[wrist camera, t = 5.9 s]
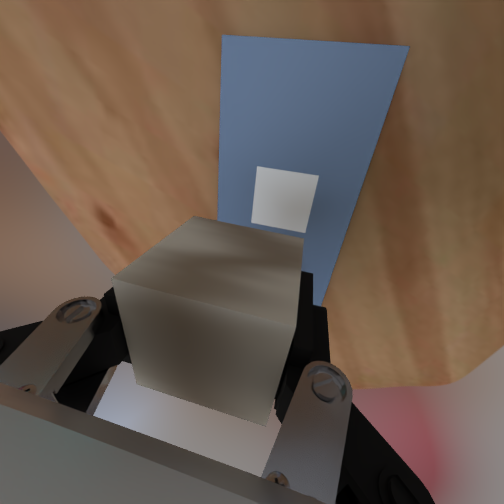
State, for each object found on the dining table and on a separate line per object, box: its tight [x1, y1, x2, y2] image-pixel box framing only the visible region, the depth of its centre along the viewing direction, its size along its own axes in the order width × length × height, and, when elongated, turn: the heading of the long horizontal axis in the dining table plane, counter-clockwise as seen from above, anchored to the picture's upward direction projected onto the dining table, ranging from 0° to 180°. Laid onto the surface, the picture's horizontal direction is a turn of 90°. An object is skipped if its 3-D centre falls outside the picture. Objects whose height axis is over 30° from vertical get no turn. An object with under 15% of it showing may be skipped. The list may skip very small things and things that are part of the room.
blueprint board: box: [217, 35, 410, 306], centre depth 24 cm, size 14×25×1 cm, turn 174°
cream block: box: [111, 216, 304, 426], centre depth 9 cm, size 5×5×5 cm
